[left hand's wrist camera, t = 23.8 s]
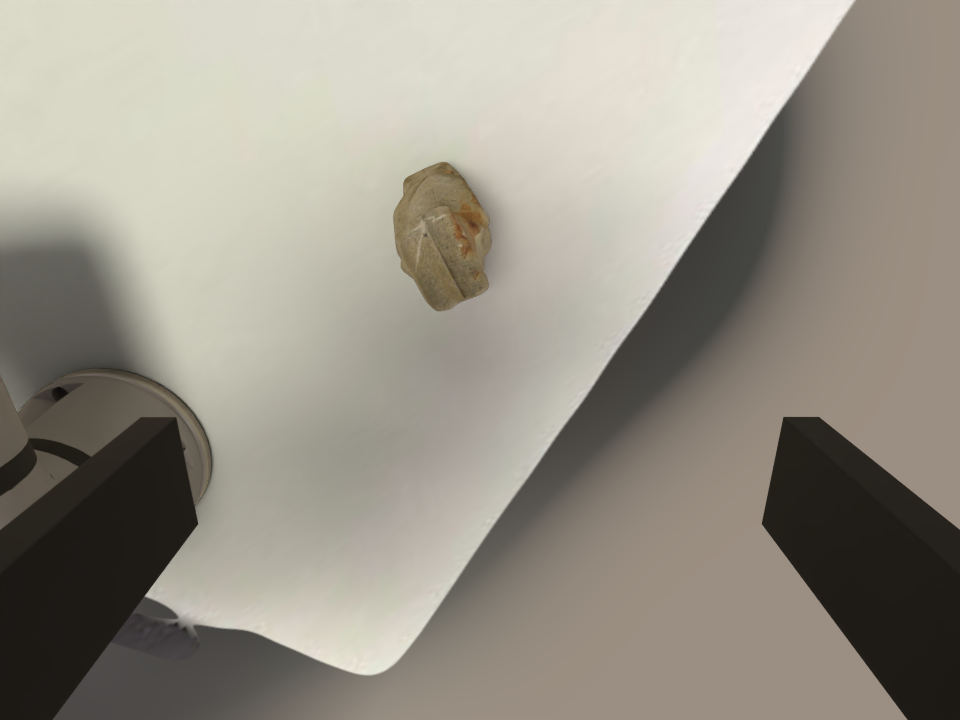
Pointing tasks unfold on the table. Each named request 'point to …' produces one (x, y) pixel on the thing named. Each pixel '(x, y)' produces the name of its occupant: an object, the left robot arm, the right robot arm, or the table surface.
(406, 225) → the sculpture
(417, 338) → the table surface
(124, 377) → the left robot arm
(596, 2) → the table surface
